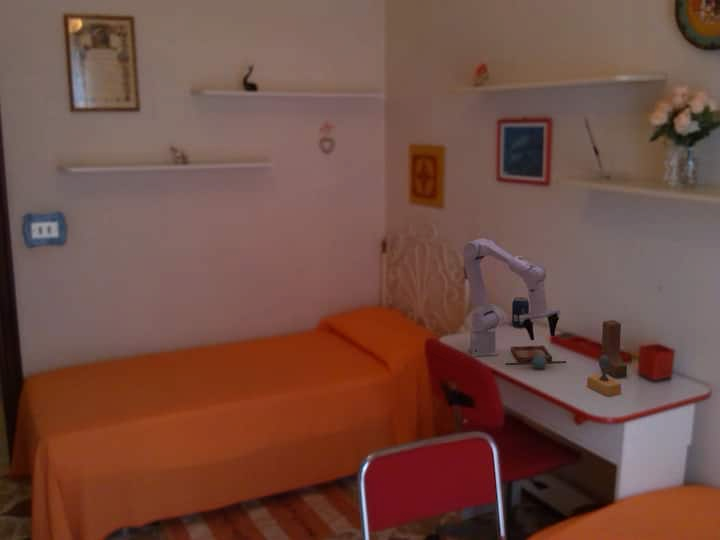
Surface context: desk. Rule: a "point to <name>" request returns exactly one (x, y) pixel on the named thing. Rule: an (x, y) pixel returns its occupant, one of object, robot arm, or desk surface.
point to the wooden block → (613, 348)
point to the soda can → (519, 311)
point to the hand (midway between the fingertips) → (542, 337)
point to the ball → (539, 361)
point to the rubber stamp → (604, 380)
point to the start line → (531, 363)
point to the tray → (529, 353)
